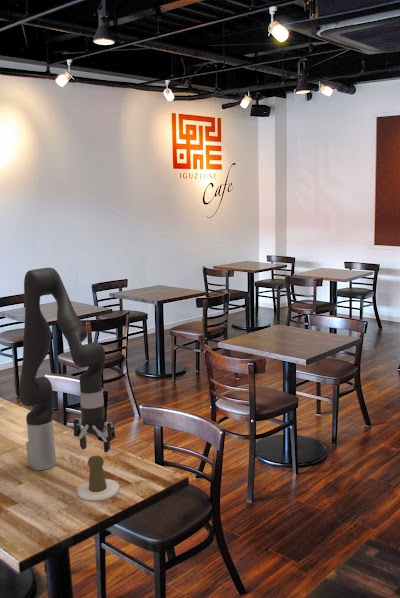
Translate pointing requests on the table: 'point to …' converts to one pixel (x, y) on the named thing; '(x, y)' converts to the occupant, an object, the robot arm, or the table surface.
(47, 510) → the table surface
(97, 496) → the cream plate
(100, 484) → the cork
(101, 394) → the robot arm
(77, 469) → the table surface
